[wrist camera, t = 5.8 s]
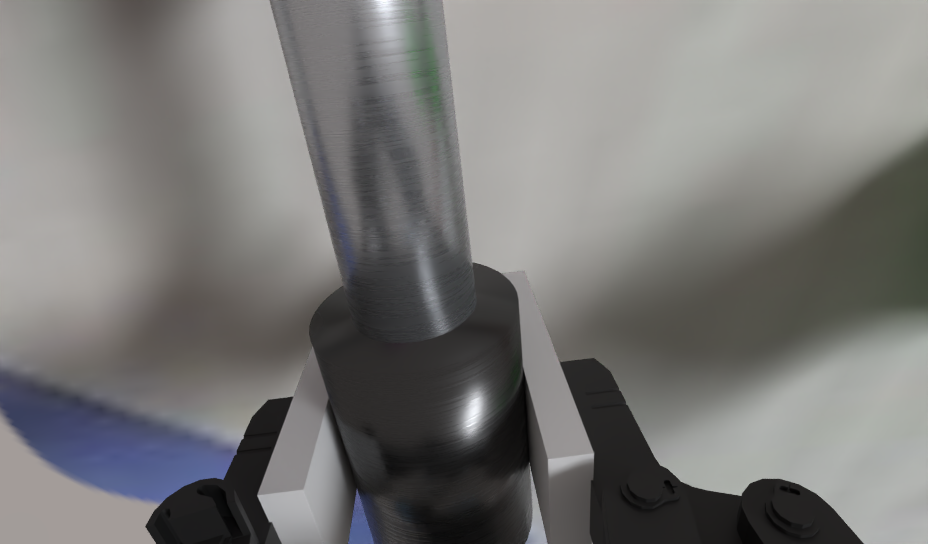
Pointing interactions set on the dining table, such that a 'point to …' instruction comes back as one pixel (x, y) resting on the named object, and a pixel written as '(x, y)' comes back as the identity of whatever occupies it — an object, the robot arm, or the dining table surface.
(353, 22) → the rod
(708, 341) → the dining table surface
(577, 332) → the dining table surface
